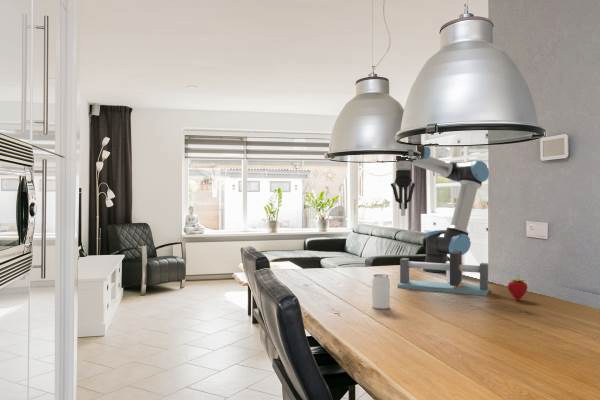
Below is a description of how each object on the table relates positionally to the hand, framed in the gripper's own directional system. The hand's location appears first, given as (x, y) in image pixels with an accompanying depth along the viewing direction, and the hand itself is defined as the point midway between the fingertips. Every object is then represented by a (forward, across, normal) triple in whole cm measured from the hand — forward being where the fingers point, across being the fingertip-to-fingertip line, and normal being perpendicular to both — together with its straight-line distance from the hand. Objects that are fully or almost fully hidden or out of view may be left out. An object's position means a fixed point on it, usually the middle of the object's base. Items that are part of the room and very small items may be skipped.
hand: (403, 215), depth 232 cm
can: (+33, +9, -66) cm, 74 cm away
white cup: (+33, +25, +1) cm, 41 cm away
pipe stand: (+32, +23, -18) cm, 44 cm away
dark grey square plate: (+29, +29, -18) cm, 45 cm away
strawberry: (+33, +54, -28) cm, 69 cm away
